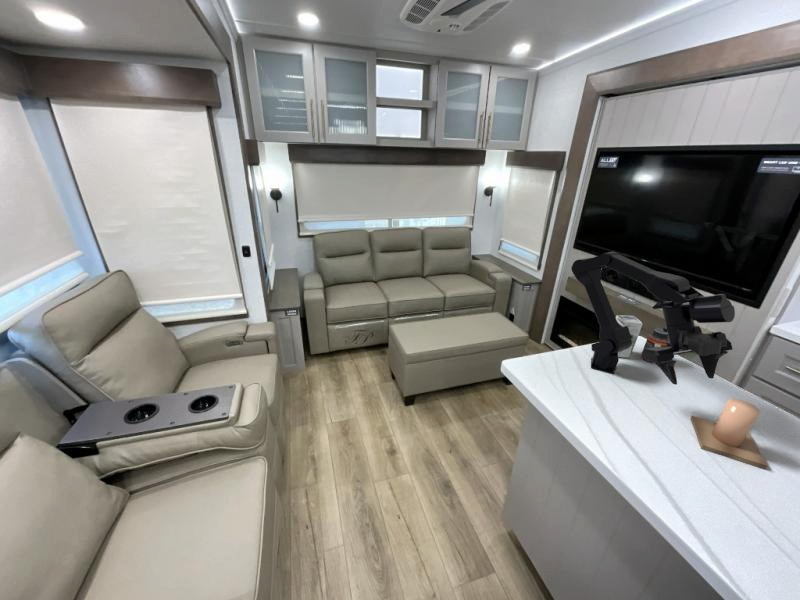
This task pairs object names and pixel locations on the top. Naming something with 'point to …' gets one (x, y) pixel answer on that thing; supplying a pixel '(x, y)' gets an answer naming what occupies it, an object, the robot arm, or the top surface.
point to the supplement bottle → (656, 340)
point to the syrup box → (634, 330)
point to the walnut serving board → (742, 453)
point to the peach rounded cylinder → (735, 422)
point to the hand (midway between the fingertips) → (692, 381)
